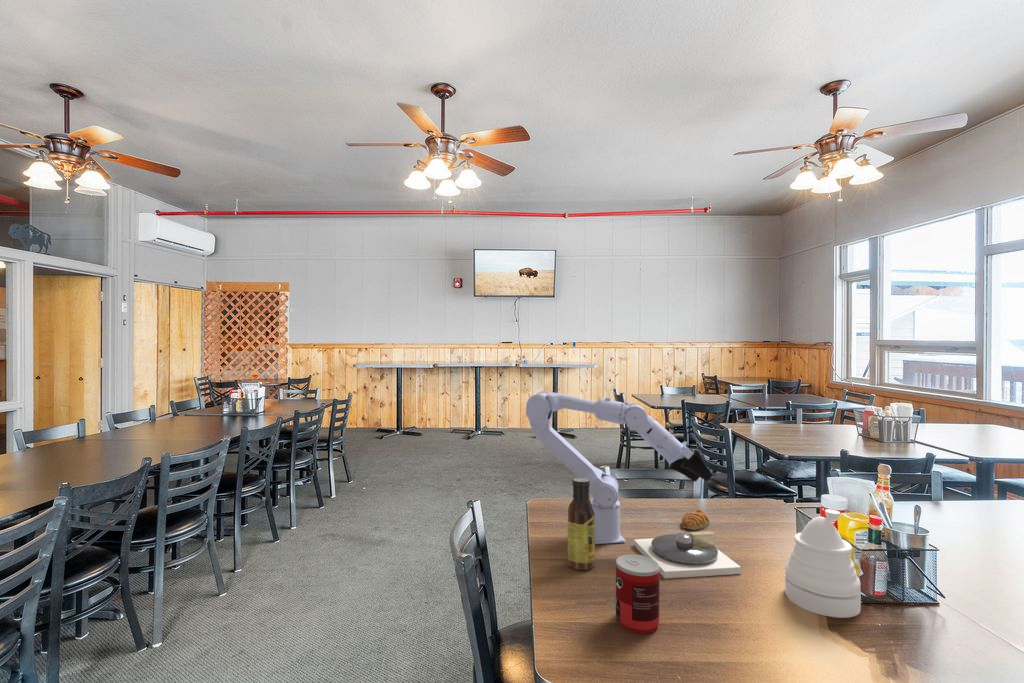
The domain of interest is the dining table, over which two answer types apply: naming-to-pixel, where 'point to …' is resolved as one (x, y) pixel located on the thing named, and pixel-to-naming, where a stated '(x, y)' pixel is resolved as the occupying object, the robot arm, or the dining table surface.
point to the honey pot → (823, 570)
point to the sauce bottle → (581, 527)
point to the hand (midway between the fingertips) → (703, 478)
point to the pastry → (695, 520)
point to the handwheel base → (679, 570)
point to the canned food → (637, 593)
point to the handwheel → (686, 547)
